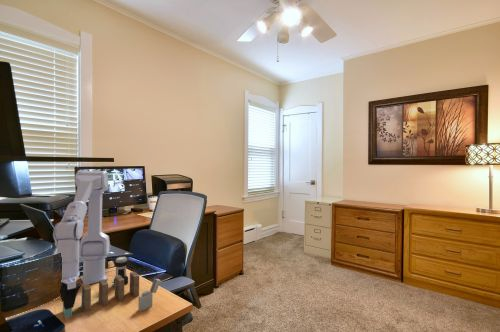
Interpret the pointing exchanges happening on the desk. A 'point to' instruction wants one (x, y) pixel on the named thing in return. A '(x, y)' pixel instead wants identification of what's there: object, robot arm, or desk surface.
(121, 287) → the row domino
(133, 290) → the domino
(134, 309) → the desk surface
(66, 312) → the domino
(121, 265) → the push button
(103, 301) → the row domino
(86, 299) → the row domino
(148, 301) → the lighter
